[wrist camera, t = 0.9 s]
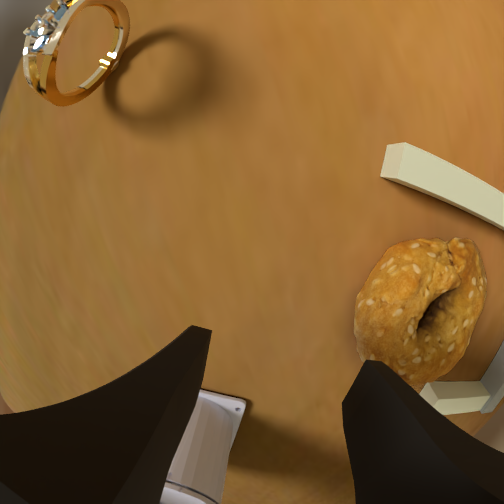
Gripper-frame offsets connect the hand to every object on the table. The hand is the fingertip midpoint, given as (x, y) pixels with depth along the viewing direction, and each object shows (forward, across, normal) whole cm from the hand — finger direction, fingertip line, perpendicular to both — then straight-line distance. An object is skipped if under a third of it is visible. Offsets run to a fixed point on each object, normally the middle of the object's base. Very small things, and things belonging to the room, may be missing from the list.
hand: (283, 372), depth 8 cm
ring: (+10, +14, -11) cm, 20 cm away
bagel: (+10, -10, 0) cm, 14 cm away
